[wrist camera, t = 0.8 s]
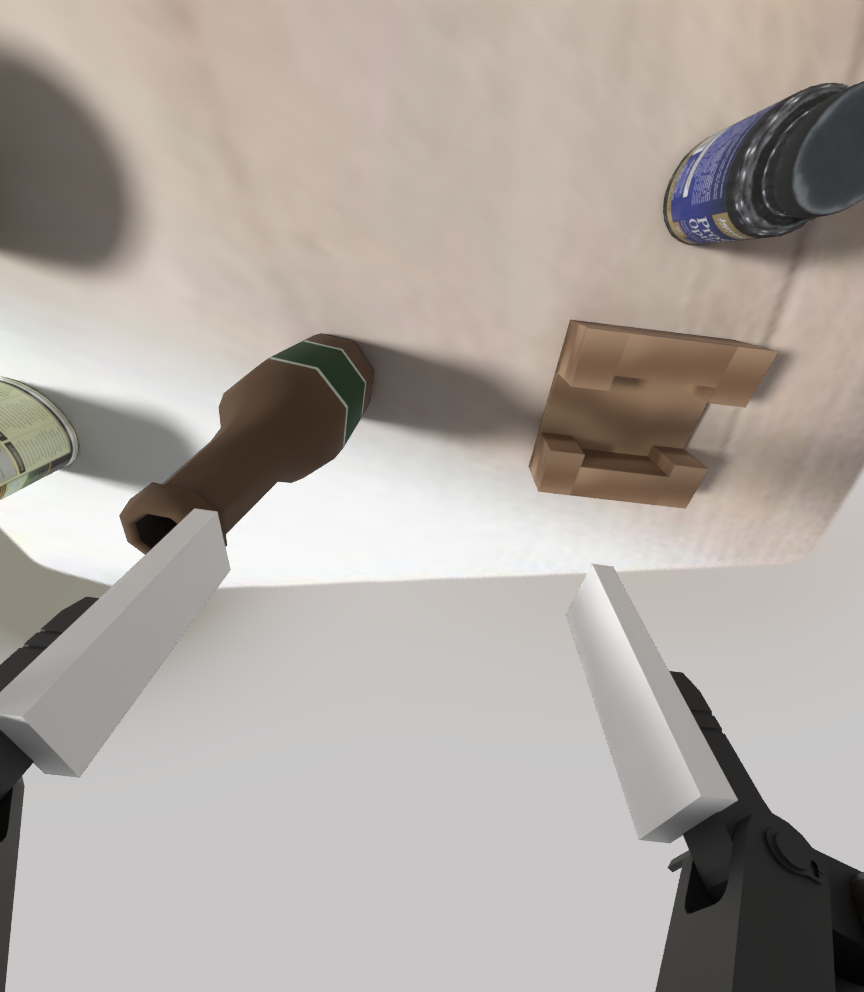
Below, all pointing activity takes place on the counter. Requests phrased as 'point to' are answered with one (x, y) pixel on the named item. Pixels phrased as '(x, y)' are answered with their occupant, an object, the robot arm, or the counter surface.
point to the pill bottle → (772, 169)
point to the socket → (636, 410)
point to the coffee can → (31, 437)
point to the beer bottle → (262, 437)
